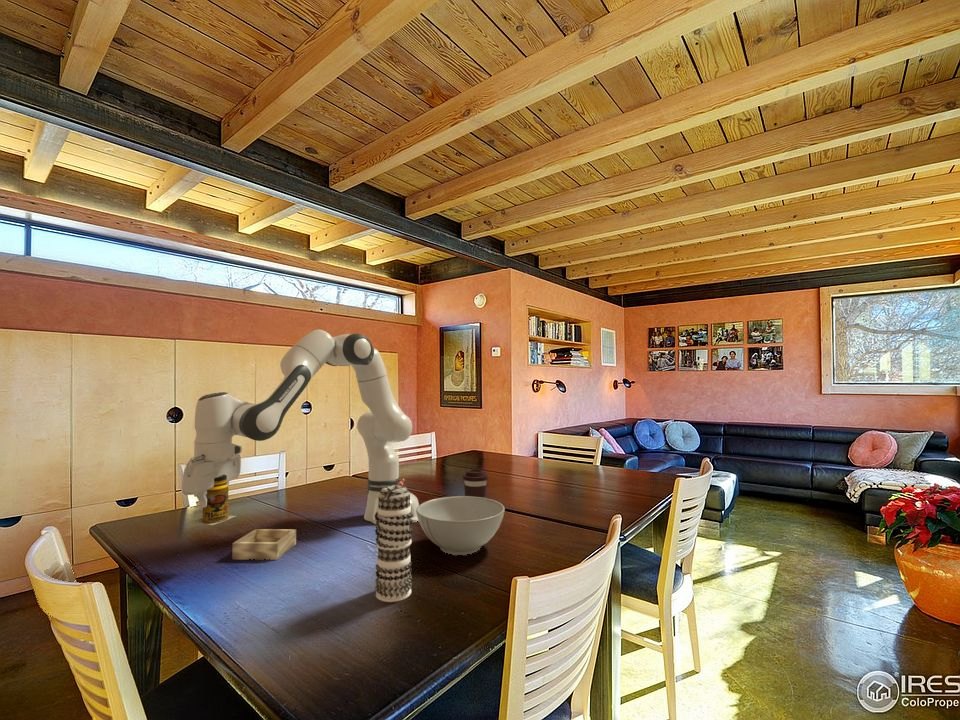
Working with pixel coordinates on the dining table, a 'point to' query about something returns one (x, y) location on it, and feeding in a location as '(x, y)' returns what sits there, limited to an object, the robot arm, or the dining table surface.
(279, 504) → the dining table surface
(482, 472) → the coffee cup
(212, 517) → the condiment
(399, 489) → the decorative candle
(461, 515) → the decorative bowl
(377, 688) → the dining table surface
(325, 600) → the dining table surface
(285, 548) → the caddy
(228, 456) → the robot arm
